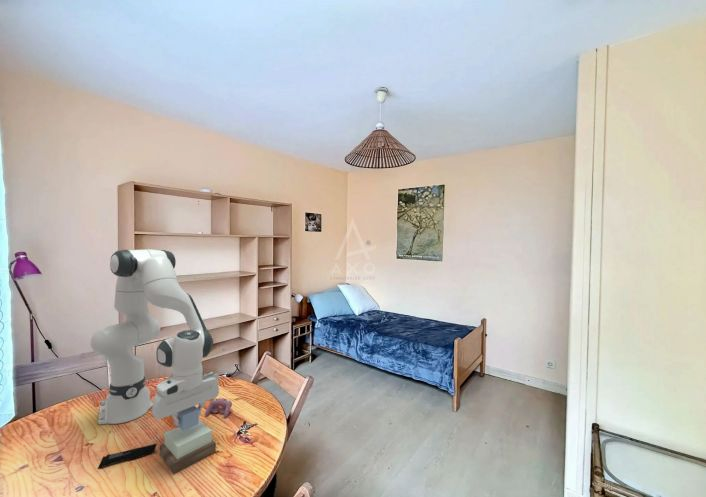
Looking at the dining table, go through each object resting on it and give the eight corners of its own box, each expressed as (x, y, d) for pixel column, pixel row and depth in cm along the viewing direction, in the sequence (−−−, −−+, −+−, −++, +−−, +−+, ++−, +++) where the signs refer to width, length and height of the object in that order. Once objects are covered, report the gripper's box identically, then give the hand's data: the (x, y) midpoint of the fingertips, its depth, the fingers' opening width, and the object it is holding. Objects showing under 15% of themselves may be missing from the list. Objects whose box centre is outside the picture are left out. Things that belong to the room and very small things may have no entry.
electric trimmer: (155, 456, 99) (156, 446, 99) (96, 471, 92) (97, 461, 92) (157, 449, 102) (157, 440, 102) (100, 463, 95) (100, 453, 95)
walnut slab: (159, 456, 99) (159, 444, 99) (199, 437, 109) (199, 427, 109) (173, 476, 90) (173, 463, 90) (215, 454, 100) (215, 442, 100)
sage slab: (164, 444, 99) (164, 432, 99) (197, 429, 108) (198, 418, 108) (177, 459, 92) (177, 446, 92) (212, 441, 101) (212, 430, 101)
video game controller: (230, 417, 124) (234, 398, 127) (225, 418, 120) (229, 399, 123) (208, 415, 125) (213, 397, 128) (203, 416, 120) (207, 397, 124)
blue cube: (176, 424, 99) (177, 410, 99) (192, 418, 103) (192, 404, 103) (182, 431, 96) (182, 415, 96) (198, 424, 100) (198, 409, 100)
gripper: (214, 367, 109) (214, 404, 109) (150, 387, 94) (150, 429, 94) (222, 372, 105) (222, 410, 105) (157, 393, 90) (156, 438, 90)
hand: (187, 419), depth 99 cm, fingers closed on blue cube, 5 cm apart
